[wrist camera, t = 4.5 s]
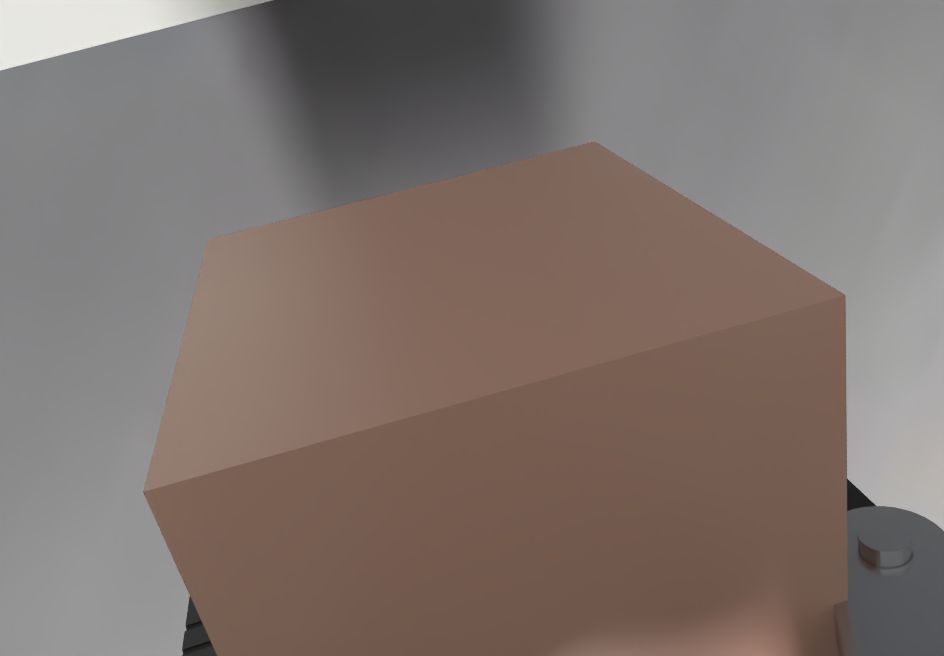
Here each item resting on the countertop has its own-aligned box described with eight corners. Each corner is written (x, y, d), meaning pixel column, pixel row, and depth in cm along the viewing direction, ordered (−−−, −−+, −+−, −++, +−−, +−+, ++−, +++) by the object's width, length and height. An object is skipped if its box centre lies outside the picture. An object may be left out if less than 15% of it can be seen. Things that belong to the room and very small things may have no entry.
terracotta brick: (594, 141, 12) (845, 295, 7) (659, 612, 16) (851, 949, 11) (207, 238, 12) (143, 492, 6) (372, 702, 15) (419, 1105, 10)
